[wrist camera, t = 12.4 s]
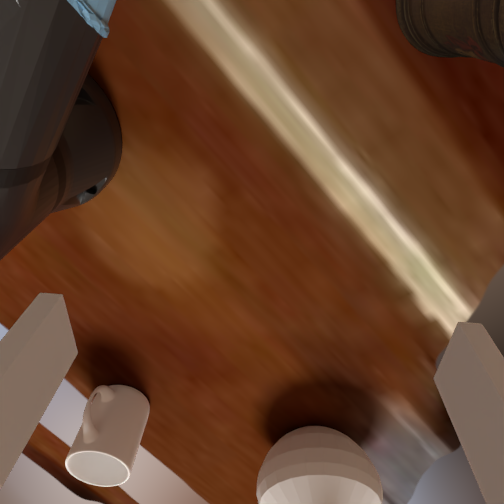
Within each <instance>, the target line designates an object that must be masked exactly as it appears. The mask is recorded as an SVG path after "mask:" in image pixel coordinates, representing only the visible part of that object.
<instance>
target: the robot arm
mask: <svg viewBox="0 0 504 504" xmlns="http://www.w3.org/2000/svg"><path fill="white" fill-rule="evenodd" d="M115 2H116V0H0V260H1V259H2V258H3V257H4V256H5V255H7V254H8V253H9V252H10V251H11V250H12V249H13V248H14V247H15V246H16V245H17V244H18V243H19V242H20V241H21V240H22V239H24V238H25V237H26V236H27V235H28V234H29V233H30V232H31V231H32V230H33V229H34V228H35V227H36V226H37V225H38V224H40V223H41V222H42V221H43V220H44V219H45V218H46V217H47V216H48V215H49V214H50V213H53V212H57V211H61V210H64V209H68V208H72V207H76V206H79V205H81V204H84V203H86V202H88V201H89V200H91V199H93V198H94V197H95V196H97V195H98V194H99V193H100V192H101V191H102V190H103V189H104V188H105V187H106V186H107V185H108V183H109V182H110V181H111V180H112V178H113V177H114V175H115V173H116V171H117V169H118V166H119V163H120V159H121V154H122V137H121V130H120V126H119V122H118V119H117V116H116V114H115V111H114V109H113V107H112V105H111V103H110V101H109V100H108V98H107V96H106V95H105V93H104V92H103V90H102V89H101V88H100V87H99V85H98V84H97V83H96V82H95V81H94V80H93V78H91V77H90V76H89V75H88V74H87V73H88V71H89V69H90V66H91V64H92V62H93V59H94V57H95V54H96V52H97V50H98V47H99V45H100V43H101V40H102V38H103V37H104V38H107V36H108V34H109V26H108V22H109V19H110V16H111V13H112V11H113V8H114V5H115ZM77 354H78V351H77V347H76V343H75V340H74V336H73V332H72V328H71V325H70V321H69V317H68V313H67V310H66V306H65V302H64V298H63V295H62V294H49V293H39V295H38V296H37V297H36V298H35V299H34V301H33V302H32V303H31V304H30V306H29V307H28V308H27V309H26V310H25V312H24V313H23V314H22V315H21V317H20V318H19V319H18V320H17V321H16V323H15V324H14V325H13V326H12V328H11V329H10V330H9V331H8V332H7V334H6V335H5V336H4V337H3V339H2V340H1V341H0V490H1V488H2V486H3V484H4V482H5V481H6V479H7V477H8V475H9V473H10V472H11V470H12V468H13V467H14V465H15V463H16V461H17V460H18V458H19V456H20V454H21V453H22V451H23V449H24V447H25V446H26V444H27V442H28V440H29V438H30V437H31V435H32V433H33V431H34V430H35V428H36V426H37V424H38V423H39V421H40V419H41V417H42V416H43V414H44V412H45V410H46V408H47V406H48V405H49V403H50V401H51V400H52V398H53V396H54V394H55V392H56V391H57V389H58V387H59V385H60V384H61V382H62V380H63V378H64V377H65V375H66V373H67V371H68V370H69V368H70V366H71V364H72V363H73V361H74V359H75V357H76V356H77ZM434 381H435V383H436V386H437V388H438V390H439V393H440V395H441V397H442V400H443V402H444V405H445V407H446V409H447V412H448V414H449V416H450V419H451V421H452V424H453V426H454V428H455V431H456V433H457V435H458V438H459V440H460V443H461V445H462V447H463V450H464V452H465V454H466V457H467V459H468V462H469V464H470V466H471V469H472V471H473V474H474V476H475V478H476V480H477V483H478V485H479V488H480V490H481V493H482V495H483V497H484V499H485V502H486V504H504V358H503V356H502V354H501V353H500V351H499V350H498V348H497V347H496V345H495V344H494V342H493V340H492V339H491V337H490V336H489V334H488V333H487V331H486V330H485V328H484V327H483V325H482V324H480V323H466V322H458V323H457V326H456V328H455V330H454V333H453V335H452V337H451V340H450V342H449V344H448V346H447V349H446V351H445V353H444V356H443V358H442V360H441V363H440V365H439V367H438V370H437V372H436V374H435V376H434Z"/></svg>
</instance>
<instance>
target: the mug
mask: <svg viewBox="0 0 504 504" xmlns="http://www.w3.org/2000/svg"><path fill="white" fill-rule="evenodd" d="M96 393H97V394H96ZM95 394H96V396H95V398H94V400H93V402H92V399H93V397H94V395H95ZM91 402H92V404H91ZM149 410H150V406H149V402H148V400H147V398H146V397H145V396H144V395H143V394H142V393H141V392H140V391H138V390H137V389H135V388H132V387H129V386H125V385H110V386H106V385H100V386H98V387H97V388H96V389H95V390H94V391H93V392H92V394H91V396H90V398H89V400H88V402H87V404H86V407H85V410H84V415H83V423H82V426H81V427H80V430H79V432H78V434H77V436H76V439H75V441H74V443H73V445H72V447H71V449H70V451H69V453H68V456H67V458H66V460H65V466H66V468H67V470H68V471H69V473H70V474H71V475H73V476H74V477H75V478H77V479H79V480H81V481H83V482H85V483H88V484H92V485H96V486H105V487H109V486H117V485H120V484H122V483H124V482H126V481H127V480H128V478H129V476H130V473H131V470H132V467H133V464H134V460H135V457H136V454H137V451H138V448H139V444H140V441H141V438H142V435H143V431H144V428H145V425H146V422H147V419H148V415H149Z"/></svg>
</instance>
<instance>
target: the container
mask: <svg viewBox="0 0 504 504" xmlns="http://www.w3.org/2000/svg"><path fill="white" fill-rule="evenodd" d="M396 13H397V19H398V22H399V25H400V28H401V30H402V32H403V34H404V36H405V37H406V39H407V40H408V41H409V42H410V43H411V44H412V45H413V46H414V47H415V48H416V49H418V50H419V51H421V52H423V53H425V54H428V55H431V56H437V57H460V56H461V57H474V58H478V59H482V60H485V61H488V62H492V63H496V64H498V65H500V66H502V67H504V0H396Z"/></svg>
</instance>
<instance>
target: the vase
mask: <svg viewBox="0 0 504 504" xmlns="http://www.w3.org/2000/svg"><path fill="white" fill-rule="evenodd" d="M256 495H257V499H258V502H259V504H382V500H383V490H382V486H381V482H380V477H379V475H378V473H377V471H376V469H375V467H374V465H373V464H372V462H371V461H370V459H369V458H368V456H367V455H366V453H365V452H364V450H363V449H362V448H361V447H360V446H358V445H357V444H356V443H355V442H354V441H353V440H352V439H350V438H349V437H348V436H347V435H345V434H343V433H341V432H339V431H337V430H334V429H331V428H328V427H324V426H305V427H301V428H298V429H295V430H293V431H291V432H289V433H287V434H286V435H284V436H283V437H282V438H280V439H279V440H278V441H277V442H276V443H275V445H274V446H273V447H272V448H271V449H270V451H269V452H268V453H267V455H266V458H265V460H264V462H263V464H262V466H261V469H260V471H259V475H258V479H257V492H256Z"/></svg>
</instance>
